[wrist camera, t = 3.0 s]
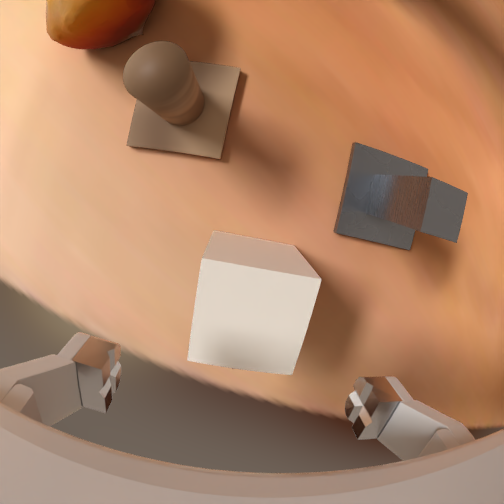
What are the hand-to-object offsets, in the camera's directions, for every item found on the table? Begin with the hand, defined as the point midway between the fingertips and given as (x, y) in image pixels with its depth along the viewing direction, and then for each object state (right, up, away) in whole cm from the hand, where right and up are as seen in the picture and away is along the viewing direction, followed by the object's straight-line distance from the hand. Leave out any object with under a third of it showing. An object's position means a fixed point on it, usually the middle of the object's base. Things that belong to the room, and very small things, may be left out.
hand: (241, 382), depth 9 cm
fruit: (-9, +21, +6) cm, 24 cm away
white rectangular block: (0, +3, +10) cm, 11 cm away
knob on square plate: (-4, +13, +8) cm, 16 cm away
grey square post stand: (+9, +8, +10) cm, 15 cm away
